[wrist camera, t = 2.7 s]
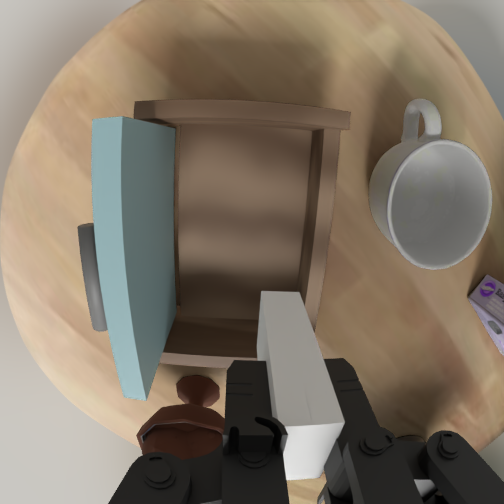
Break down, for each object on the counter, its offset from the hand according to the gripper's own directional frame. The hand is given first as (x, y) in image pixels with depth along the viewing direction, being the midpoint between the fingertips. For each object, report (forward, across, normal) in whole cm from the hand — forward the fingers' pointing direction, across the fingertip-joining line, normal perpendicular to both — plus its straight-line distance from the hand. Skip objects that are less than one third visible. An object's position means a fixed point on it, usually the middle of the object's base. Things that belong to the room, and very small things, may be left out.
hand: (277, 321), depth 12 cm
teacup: (+17, -14, -6) cm, 23 cm away
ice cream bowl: (+17, +6, +22) cm, 28 cm away
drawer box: (+17, +1, 0) cm, 17 cm away
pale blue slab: (+15, +9, 0) cm, 17 cm away
